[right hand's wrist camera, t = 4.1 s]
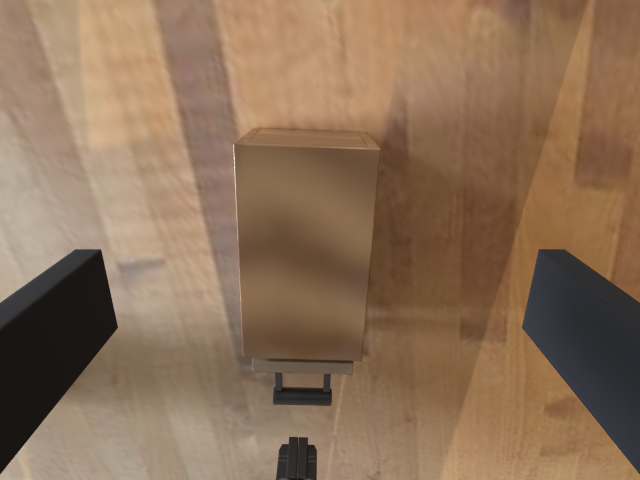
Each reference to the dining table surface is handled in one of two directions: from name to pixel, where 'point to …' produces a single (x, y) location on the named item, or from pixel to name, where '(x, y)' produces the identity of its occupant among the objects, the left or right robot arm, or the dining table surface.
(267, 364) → the drawer
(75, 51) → the dining table surface
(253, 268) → the cabinet
